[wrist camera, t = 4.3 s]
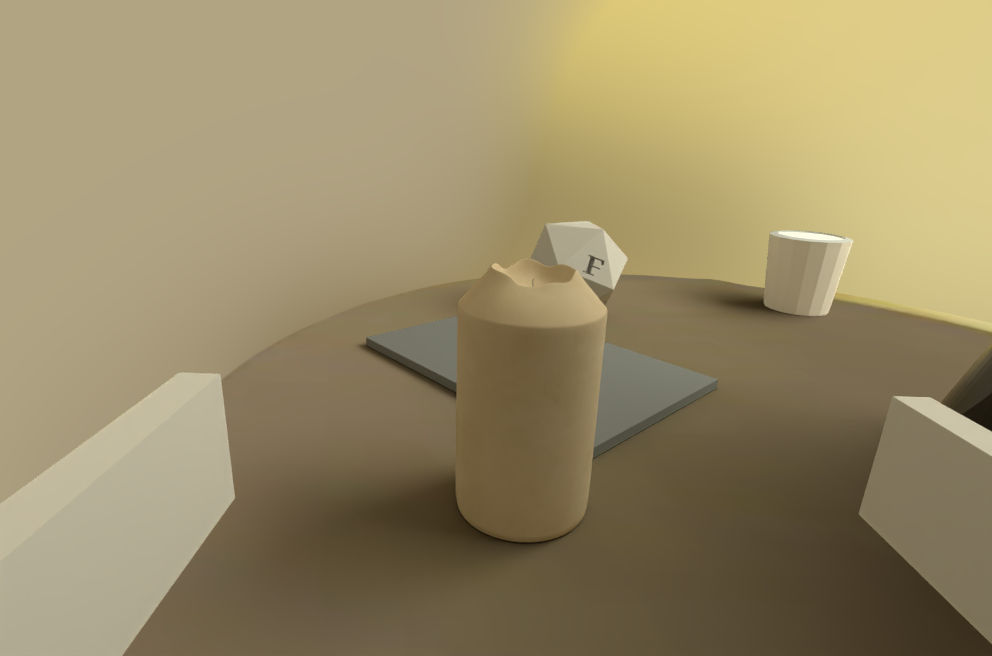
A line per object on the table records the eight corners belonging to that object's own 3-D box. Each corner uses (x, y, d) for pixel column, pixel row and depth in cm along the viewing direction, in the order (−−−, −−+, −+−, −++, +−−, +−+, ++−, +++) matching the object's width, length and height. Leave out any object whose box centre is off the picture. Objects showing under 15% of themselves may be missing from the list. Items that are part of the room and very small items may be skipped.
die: (506, 319, 49) (556, 244, 42) (516, 256, 55) (561, 180, 48) (588, 349, 51) (648, 282, 44) (589, 285, 56) (642, 216, 50)
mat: (716, 388, 35) (717, 379, 34) (587, 461, 26) (588, 450, 26) (497, 313, 48) (498, 306, 48) (366, 345, 40) (366, 337, 40)
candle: (454, 546, 20) (458, 282, 17) (455, 464, 26) (458, 249, 22) (601, 543, 21) (631, 285, 18) (572, 463, 26) (591, 252, 23)
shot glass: (754, 310, 52) (768, 236, 50) (758, 294, 58) (771, 227, 56) (838, 322, 49) (857, 244, 47) (833, 304, 55) (850, 234, 53)
